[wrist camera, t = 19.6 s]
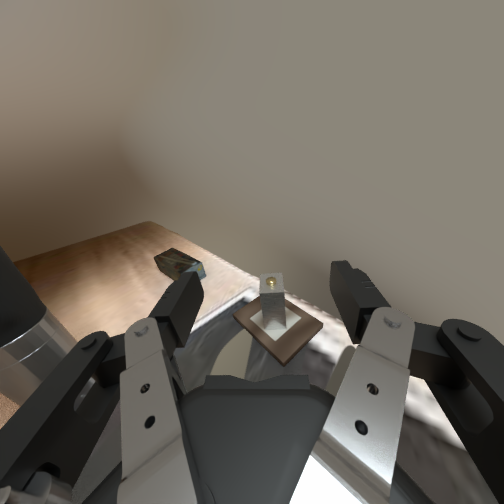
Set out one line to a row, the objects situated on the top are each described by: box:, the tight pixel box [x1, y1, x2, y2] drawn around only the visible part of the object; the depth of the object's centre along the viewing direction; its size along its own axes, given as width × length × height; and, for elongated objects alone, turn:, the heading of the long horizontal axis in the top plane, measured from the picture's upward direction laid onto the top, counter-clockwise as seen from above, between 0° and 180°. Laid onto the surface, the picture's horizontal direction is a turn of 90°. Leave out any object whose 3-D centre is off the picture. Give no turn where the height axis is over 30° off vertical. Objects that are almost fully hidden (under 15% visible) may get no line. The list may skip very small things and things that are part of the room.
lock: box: [259, 273, 287, 330], centre depth 40 cm, size 4×6×11 cm
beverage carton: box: [154, 248, 206, 281], centre depth 65 cm, size 8×19×7 cm, turn 48°
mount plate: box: [233, 296, 323, 367], centre depth 43 cm, size 16×12×1 cm
